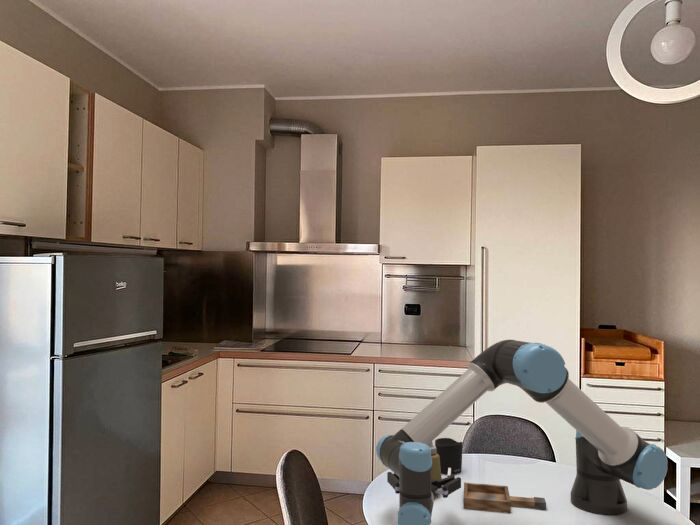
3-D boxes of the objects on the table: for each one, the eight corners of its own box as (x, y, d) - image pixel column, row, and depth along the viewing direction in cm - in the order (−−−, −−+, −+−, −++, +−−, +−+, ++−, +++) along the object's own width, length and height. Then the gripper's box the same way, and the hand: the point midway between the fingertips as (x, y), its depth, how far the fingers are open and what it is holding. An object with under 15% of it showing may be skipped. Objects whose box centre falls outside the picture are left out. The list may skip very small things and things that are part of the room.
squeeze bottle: (412, 490, 168) (413, 431, 169) (438, 489, 169) (438, 431, 170) (419, 500, 160) (419, 438, 161) (445, 499, 161) (445, 438, 162)
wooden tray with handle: (542, 499, 162) (542, 488, 162) (548, 516, 149) (548, 505, 149) (464, 492, 167) (464, 482, 167) (463, 508, 154) (463, 497, 154)
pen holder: (436, 474, 183) (436, 444, 183) (434, 466, 192) (434, 437, 193) (464, 475, 182) (464, 445, 183) (460, 467, 191) (460, 438, 192)
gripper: (370, 508, 139) (383, 480, 159) (469, 517, 133) (469, 487, 154) (370, 478, 139) (383, 454, 160) (469, 486, 134) (469, 460, 154)
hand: (425, 470), depth 157 cm, fingers open, 13 cm apart
